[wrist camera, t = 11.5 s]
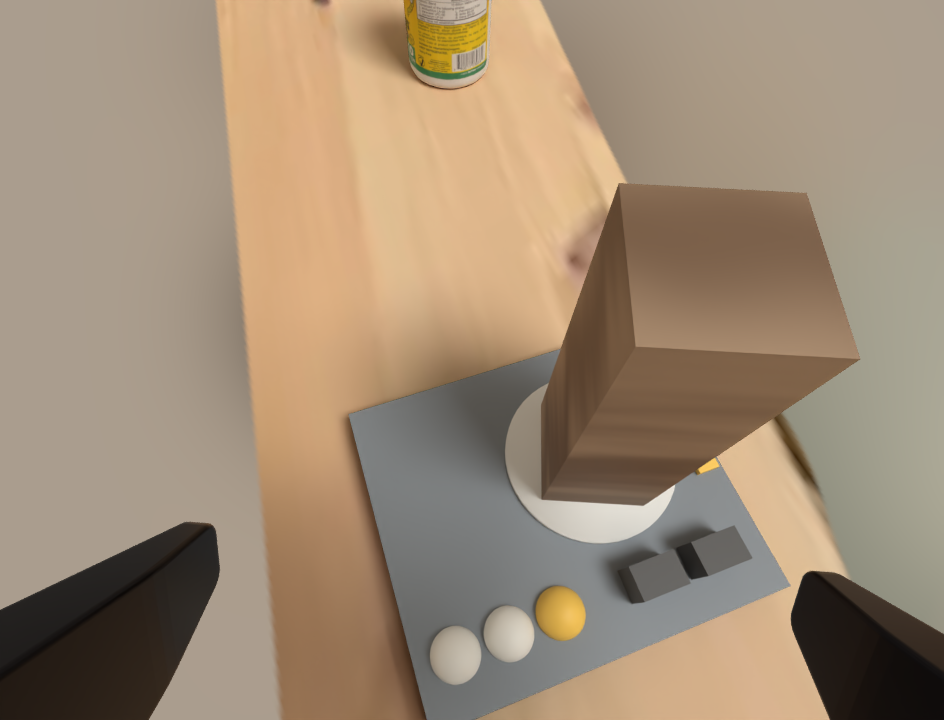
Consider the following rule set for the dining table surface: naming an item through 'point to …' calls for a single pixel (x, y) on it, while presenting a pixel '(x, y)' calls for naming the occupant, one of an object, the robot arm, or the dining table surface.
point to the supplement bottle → (448, 40)
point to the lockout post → (687, 338)
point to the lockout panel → (535, 547)
